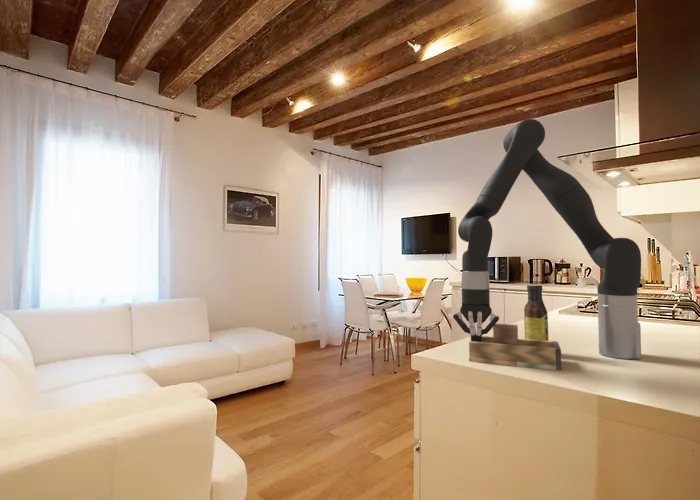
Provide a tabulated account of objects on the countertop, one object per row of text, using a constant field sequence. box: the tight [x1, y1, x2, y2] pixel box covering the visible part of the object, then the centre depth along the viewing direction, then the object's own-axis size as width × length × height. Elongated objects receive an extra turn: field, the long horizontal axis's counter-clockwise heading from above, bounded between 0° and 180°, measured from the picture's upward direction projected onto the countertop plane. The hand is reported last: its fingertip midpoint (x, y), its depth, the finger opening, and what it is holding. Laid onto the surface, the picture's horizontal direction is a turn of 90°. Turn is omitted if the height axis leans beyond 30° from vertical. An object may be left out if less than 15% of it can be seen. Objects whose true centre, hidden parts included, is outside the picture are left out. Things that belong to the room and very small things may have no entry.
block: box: [492, 323, 519, 345], centre depth 103 cm, size 6×6×8 cm
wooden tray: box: [468, 335, 562, 371], centre depth 102 cm, size 22×11×5 cm, turn 65°
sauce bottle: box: [523, 284, 550, 341], centre depth 110 cm, size 6×6×20 cm
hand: (476, 348), depth 106 cm, fingers closed
